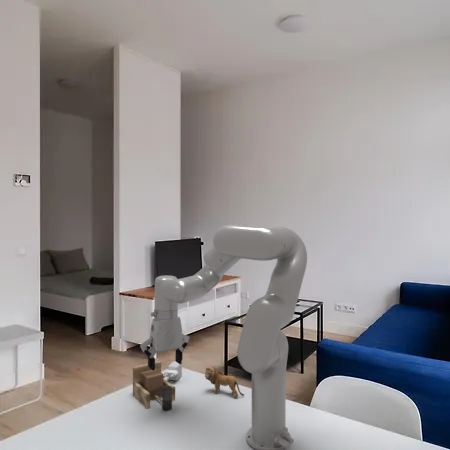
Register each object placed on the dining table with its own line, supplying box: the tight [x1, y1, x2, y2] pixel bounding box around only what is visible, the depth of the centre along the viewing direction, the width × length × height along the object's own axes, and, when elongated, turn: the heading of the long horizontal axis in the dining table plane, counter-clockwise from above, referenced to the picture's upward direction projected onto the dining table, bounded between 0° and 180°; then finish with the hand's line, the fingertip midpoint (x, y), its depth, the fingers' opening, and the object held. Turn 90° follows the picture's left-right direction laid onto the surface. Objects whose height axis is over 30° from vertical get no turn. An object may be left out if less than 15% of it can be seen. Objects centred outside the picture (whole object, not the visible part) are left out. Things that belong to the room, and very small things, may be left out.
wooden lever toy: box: [140, 369, 173, 412], centre depth 137 cm, size 16×6×8 cm, turn 35°
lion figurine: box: [204, 366, 245, 400], centre depth 142 cm, size 15×5×9 cm, turn 70°
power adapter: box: [163, 360, 183, 381], centre depth 154 cm, size 11×5×6 cm, turn 165°
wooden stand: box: [132, 360, 176, 409], centre depth 139 cm, size 12×10×10 cm
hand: (165, 365), depth 131 cm, fingers open, 9 cm apart
